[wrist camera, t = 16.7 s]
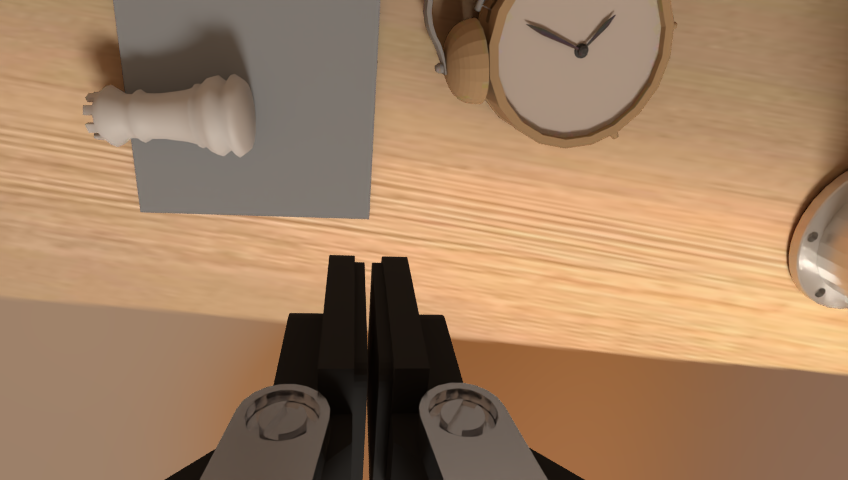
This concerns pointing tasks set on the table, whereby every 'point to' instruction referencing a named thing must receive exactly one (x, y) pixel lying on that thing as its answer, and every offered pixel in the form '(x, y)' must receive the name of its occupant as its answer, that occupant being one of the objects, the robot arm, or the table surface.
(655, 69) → the alarm clock
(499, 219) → the table surface
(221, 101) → the rook chess piece
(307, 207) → the mat
